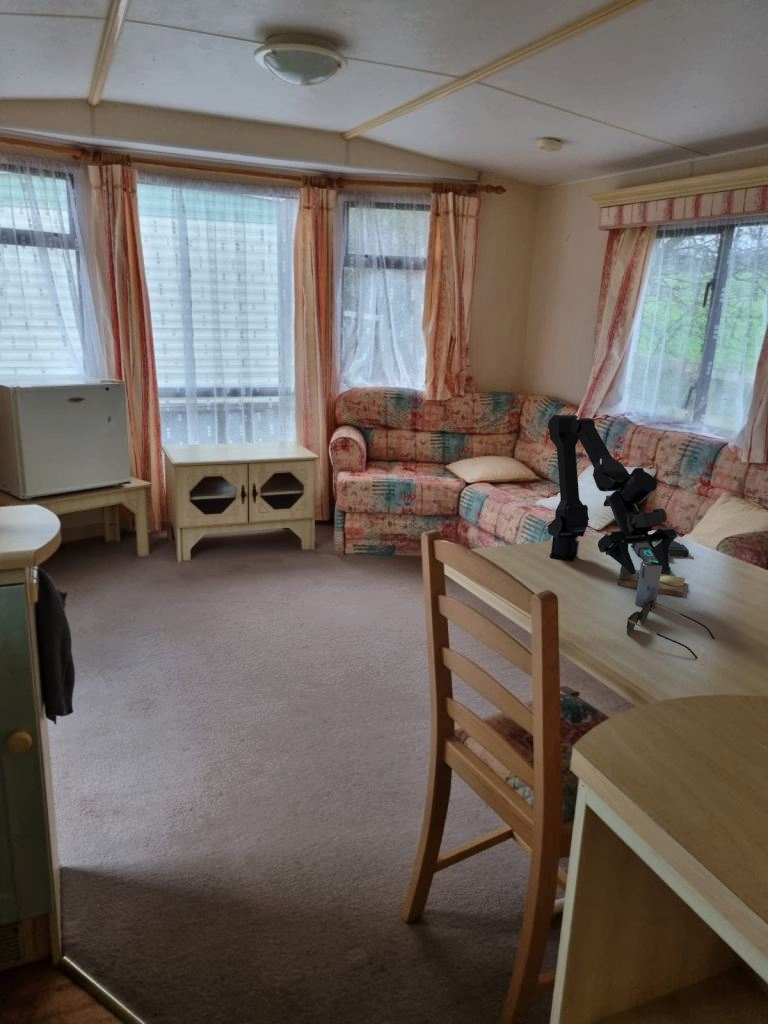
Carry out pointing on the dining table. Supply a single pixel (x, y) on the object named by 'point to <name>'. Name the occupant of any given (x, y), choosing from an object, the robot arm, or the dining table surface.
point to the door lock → (666, 584)
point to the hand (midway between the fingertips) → (650, 572)
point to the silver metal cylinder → (648, 583)
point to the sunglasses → (643, 615)
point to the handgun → (646, 554)
